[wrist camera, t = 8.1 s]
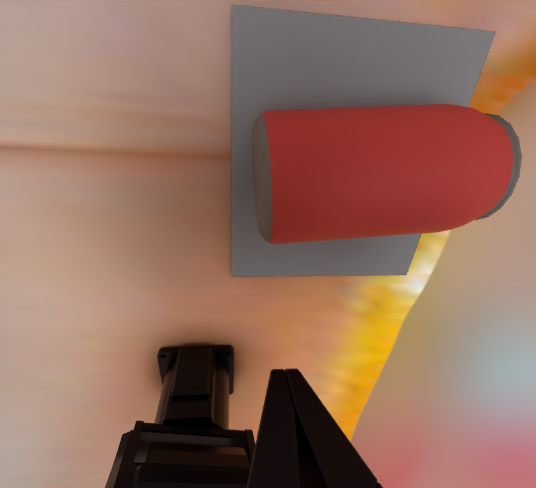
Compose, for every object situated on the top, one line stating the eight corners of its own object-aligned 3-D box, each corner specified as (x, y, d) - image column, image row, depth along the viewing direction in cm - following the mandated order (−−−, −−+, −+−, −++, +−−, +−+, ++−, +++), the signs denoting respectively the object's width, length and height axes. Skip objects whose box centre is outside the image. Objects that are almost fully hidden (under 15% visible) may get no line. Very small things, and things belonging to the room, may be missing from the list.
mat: (403, 271, 24) (406, 275, 24) (231, 273, 22) (231, 276, 22) (488, 32, 16) (495, 31, 16) (231, 6, 14) (231, 4, 14)
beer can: (257, 105, 11) (555, 94, 12) (249, 114, 17) (446, 106, 18) (264, 267, 13) (512, 247, 14) (255, 223, 19) (428, 212, 20)
